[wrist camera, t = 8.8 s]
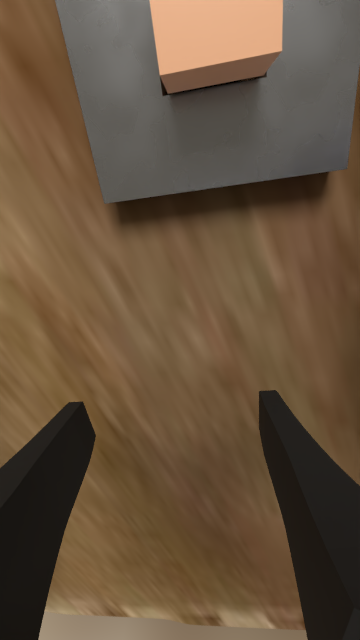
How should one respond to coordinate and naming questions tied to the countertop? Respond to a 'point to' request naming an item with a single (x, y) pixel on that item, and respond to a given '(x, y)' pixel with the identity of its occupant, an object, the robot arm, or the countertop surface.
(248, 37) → the tall peach brick
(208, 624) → the countertop surface
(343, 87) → the rail plate
